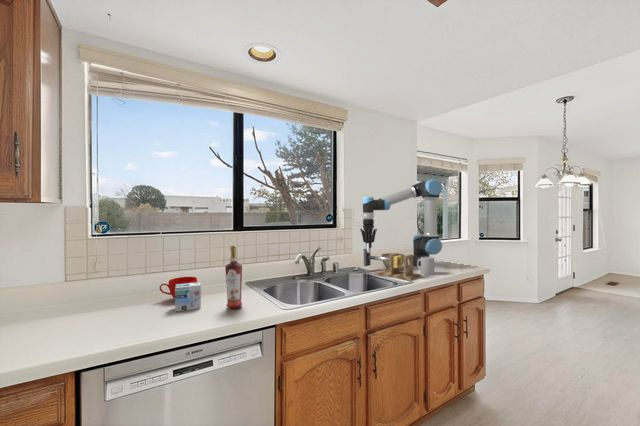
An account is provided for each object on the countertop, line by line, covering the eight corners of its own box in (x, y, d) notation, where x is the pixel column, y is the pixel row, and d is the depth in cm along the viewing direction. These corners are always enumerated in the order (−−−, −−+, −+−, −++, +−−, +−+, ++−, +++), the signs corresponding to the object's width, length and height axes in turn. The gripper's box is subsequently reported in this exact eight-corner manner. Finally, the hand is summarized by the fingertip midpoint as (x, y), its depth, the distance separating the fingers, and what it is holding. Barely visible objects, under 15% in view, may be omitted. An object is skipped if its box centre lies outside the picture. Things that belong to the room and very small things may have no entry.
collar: (402, 266, 196) (401, 255, 196) (396, 268, 191) (396, 257, 191) (397, 265, 199) (397, 255, 199) (392, 267, 193) (392, 256, 193)
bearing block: (420, 276, 191) (420, 254, 191) (410, 280, 181) (410, 257, 181) (385, 271, 209) (385, 251, 209) (374, 274, 199) (373, 253, 199)
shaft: (400, 269, 197) (400, 250, 197) (396, 270, 192) (395, 251, 192) (368, 264, 214) (368, 248, 214) (363, 265, 210) (363, 248, 210)
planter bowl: (409, 270, 213) (409, 254, 213) (394, 273, 204) (393, 257, 204) (392, 266, 226) (392, 252, 226) (377, 269, 217) (376, 254, 217)
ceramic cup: (160, 298, 150) (160, 279, 150) (197, 294, 157) (196, 275, 157) (158, 306, 139) (158, 284, 139) (198, 301, 146) (197, 280, 145)
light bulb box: (175, 312, 130) (174, 287, 130) (175, 307, 136) (175, 284, 136) (201, 308, 134) (201, 284, 134) (200, 304, 140) (200, 281, 140)
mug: (436, 274, 199) (436, 257, 199) (429, 275, 193) (429, 258, 193) (421, 271, 208) (420, 255, 208) (413, 273, 203) (413, 256, 203)
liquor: (244, 304, 139) (243, 244, 138) (240, 310, 131) (239, 246, 131) (228, 305, 138) (227, 244, 138) (223, 310, 131) (222, 246, 131)
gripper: (357, 218, 212) (358, 252, 212) (373, 219, 203) (373, 253, 203) (363, 218, 217) (364, 251, 217) (379, 218, 208) (379, 252, 208)
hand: (368, 252), depth 210 cm, fingers closed
